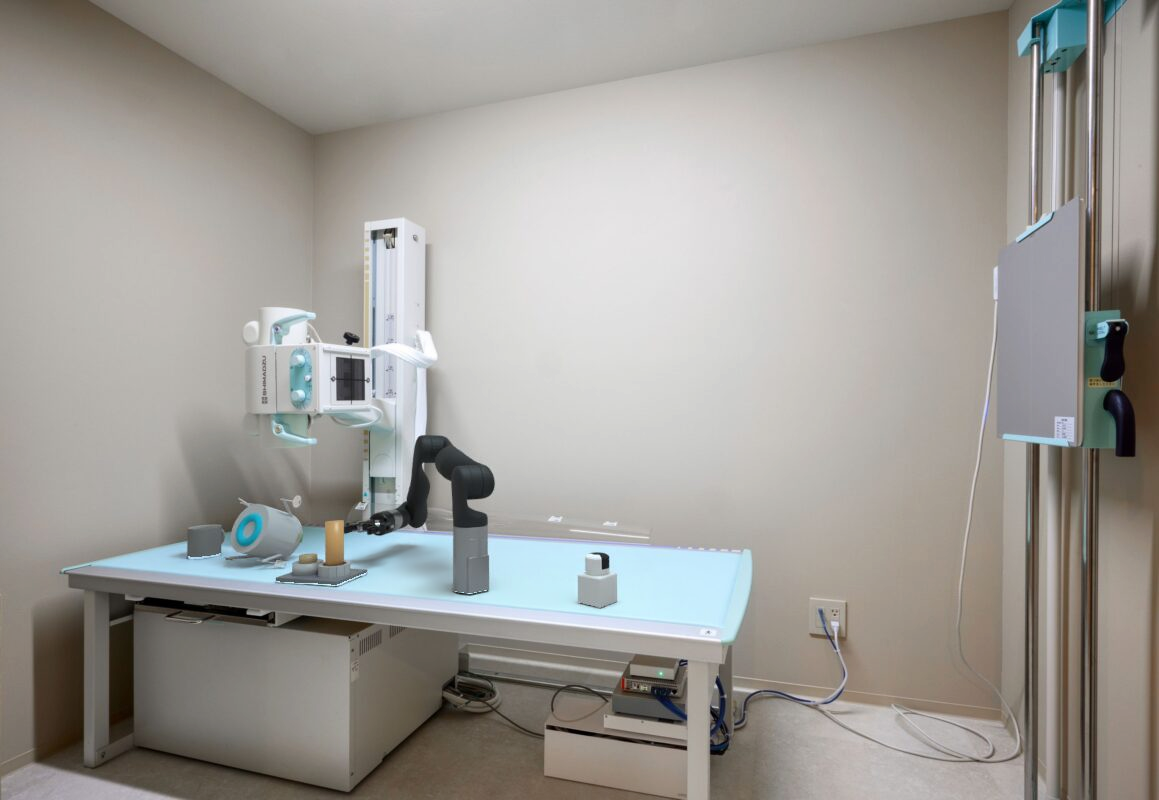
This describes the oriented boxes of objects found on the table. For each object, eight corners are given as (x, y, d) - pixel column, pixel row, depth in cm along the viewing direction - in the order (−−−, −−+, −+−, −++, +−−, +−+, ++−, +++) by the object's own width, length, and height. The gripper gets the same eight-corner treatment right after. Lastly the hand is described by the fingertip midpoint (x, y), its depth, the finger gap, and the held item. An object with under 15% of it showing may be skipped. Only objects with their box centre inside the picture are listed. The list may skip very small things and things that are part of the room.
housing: (367, 574, 177) (367, 552, 178) (336, 587, 164) (336, 563, 164) (310, 570, 182) (310, 549, 183) (275, 582, 169) (276, 559, 169)
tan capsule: (346, 573, 172) (346, 521, 173) (328, 576, 169) (328, 523, 169) (340, 571, 176) (340, 519, 176) (323, 573, 173) (322, 521, 173)
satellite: (328, 505, 204) (275, 508, 214) (281, 488, 188) (227, 492, 198) (310, 573, 195) (256, 573, 204) (260, 562, 178) (203, 562, 188)
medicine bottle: (595, 596, 153) (594, 549, 153) (617, 601, 148) (617, 553, 149) (577, 603, 147) (576, 554, 148) (600, 608, 143) (599, 558, 143)
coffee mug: (200, 560, 198) (201, 530, 198) (180, 558, 202) (180, 528, 202) (236, 552, 211) (237, 523, 211) (216, 550, 214) (217, 522, 215)
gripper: (367, 510, 200) (335, 517, 184) (405, 511, 196) (376, 519, 181) (367, 532, 200) (335, 542, 184) (405, 534, 196) (376, 544, 180)
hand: (355, 530), depth 182 cm, fingers open, 8 cm apart
